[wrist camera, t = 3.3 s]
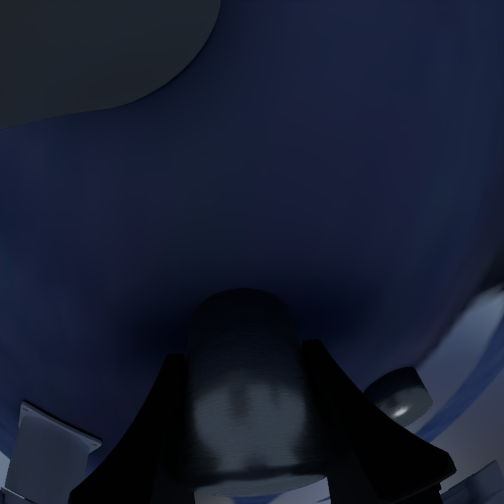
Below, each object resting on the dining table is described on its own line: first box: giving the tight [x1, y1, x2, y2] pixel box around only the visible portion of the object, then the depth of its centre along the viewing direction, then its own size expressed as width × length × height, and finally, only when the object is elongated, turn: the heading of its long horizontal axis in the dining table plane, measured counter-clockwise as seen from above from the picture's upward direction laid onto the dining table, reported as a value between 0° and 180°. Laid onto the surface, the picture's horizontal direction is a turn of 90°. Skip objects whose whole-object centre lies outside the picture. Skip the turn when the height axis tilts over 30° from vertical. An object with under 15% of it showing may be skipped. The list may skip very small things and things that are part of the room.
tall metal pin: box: [182, 289, 334, 497], centre depth 9 cm, size 4×4×7 cm
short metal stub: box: [363, 367, 433, 427], centre depth 16 cm, size 4×4×3 cm
